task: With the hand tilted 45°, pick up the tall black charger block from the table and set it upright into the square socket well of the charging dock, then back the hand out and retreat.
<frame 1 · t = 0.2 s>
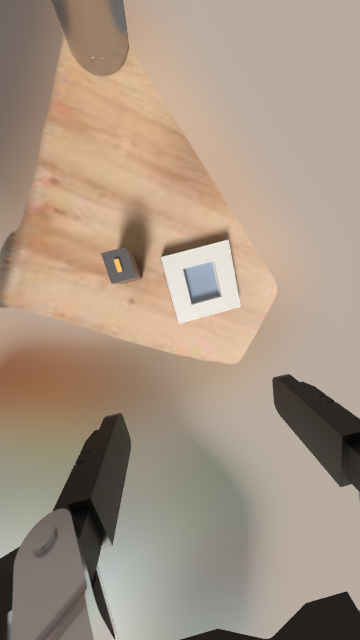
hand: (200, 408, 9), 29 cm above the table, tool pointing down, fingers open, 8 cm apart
dock: (200, 283, 37), on the table
charger: (129, 269, 35), on the table
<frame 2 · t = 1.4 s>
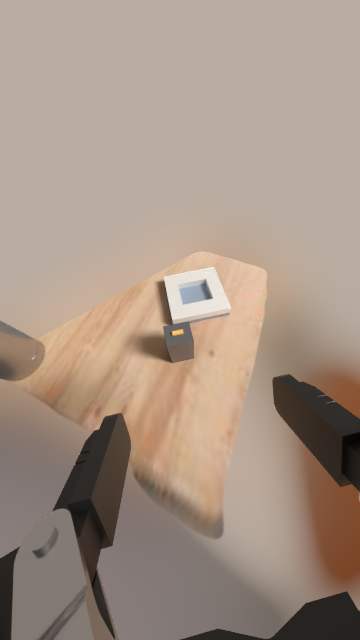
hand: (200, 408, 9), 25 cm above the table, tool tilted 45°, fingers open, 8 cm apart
dock: (194, 297, 44), on the table
charger: (181, 352, 37), on the table
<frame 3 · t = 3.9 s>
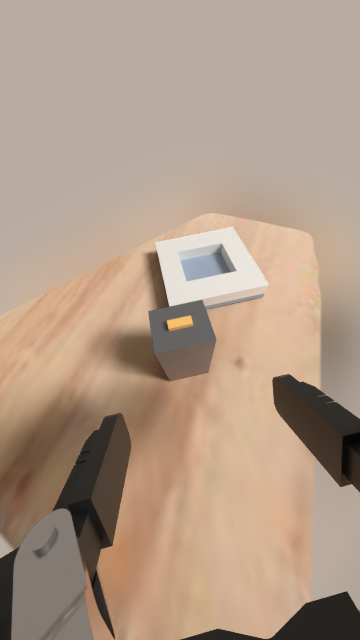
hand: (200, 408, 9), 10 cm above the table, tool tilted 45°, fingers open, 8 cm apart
dock: (204, 273, 28), on the table
charger: (185, 361, 21), on the table
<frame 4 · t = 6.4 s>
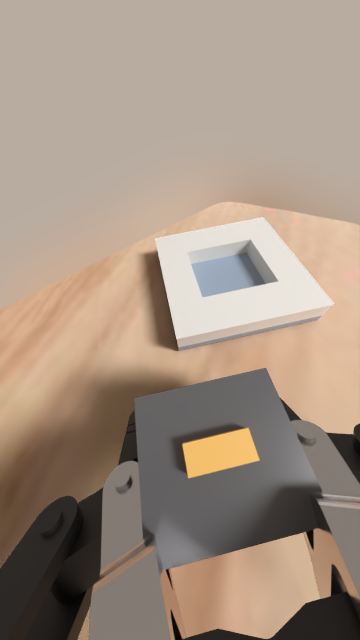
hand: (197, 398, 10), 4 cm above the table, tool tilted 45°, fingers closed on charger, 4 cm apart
dock: (225, 283, 19), on the table
charger: (204, 434, 13), on the table, touching gripper
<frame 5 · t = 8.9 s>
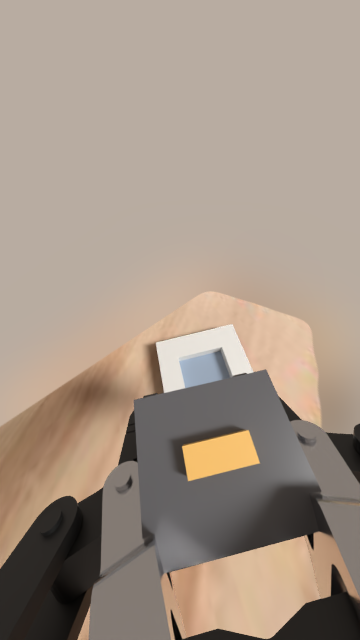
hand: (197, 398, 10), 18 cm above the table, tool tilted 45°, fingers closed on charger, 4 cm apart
dock: (205, 376, 28), on the table
charger: (204, 435, 13), point 14 cm above the table, touching gripper
when the fingers open (7 cm above the table, at t = 11.9 s): charger drops 2 cm, resting on dock.
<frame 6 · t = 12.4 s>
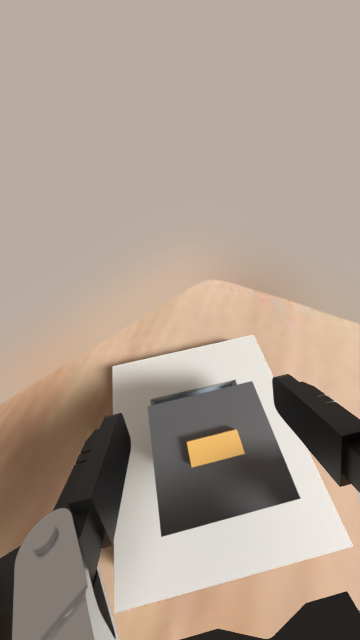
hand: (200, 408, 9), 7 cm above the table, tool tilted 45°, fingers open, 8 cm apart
dock: (202, 433, 15), on the table
charger: (203, 434, 14), point 1 cm above the table, touching dock
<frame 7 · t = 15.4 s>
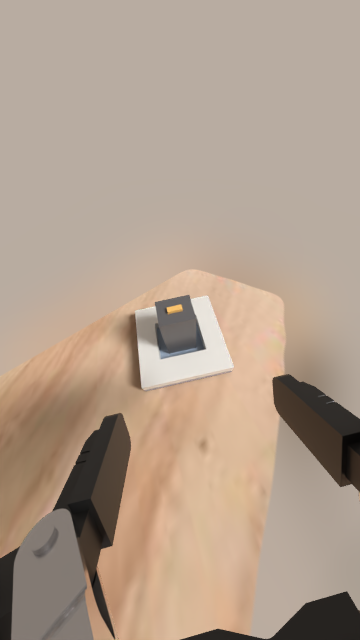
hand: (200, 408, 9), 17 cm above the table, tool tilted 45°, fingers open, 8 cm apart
dock: (180, 342, 30), on the table
charger: (180, 340, 29), point 1 cm above the table, touching dock
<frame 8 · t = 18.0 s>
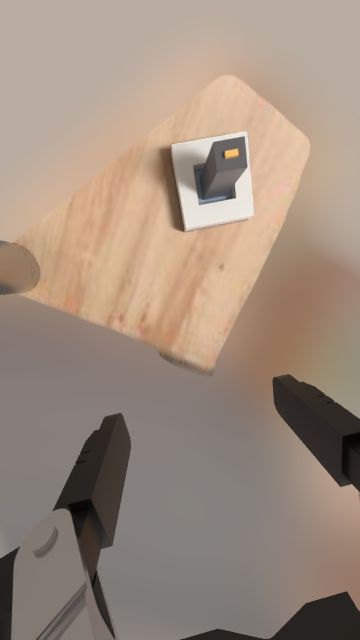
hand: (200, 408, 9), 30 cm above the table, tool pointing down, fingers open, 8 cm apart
dock: (211, 188, 34), on the table
charger: (212, 187, 33), point 1 cm above the table, touching dock
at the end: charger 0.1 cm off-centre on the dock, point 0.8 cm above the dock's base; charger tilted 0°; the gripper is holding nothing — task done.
